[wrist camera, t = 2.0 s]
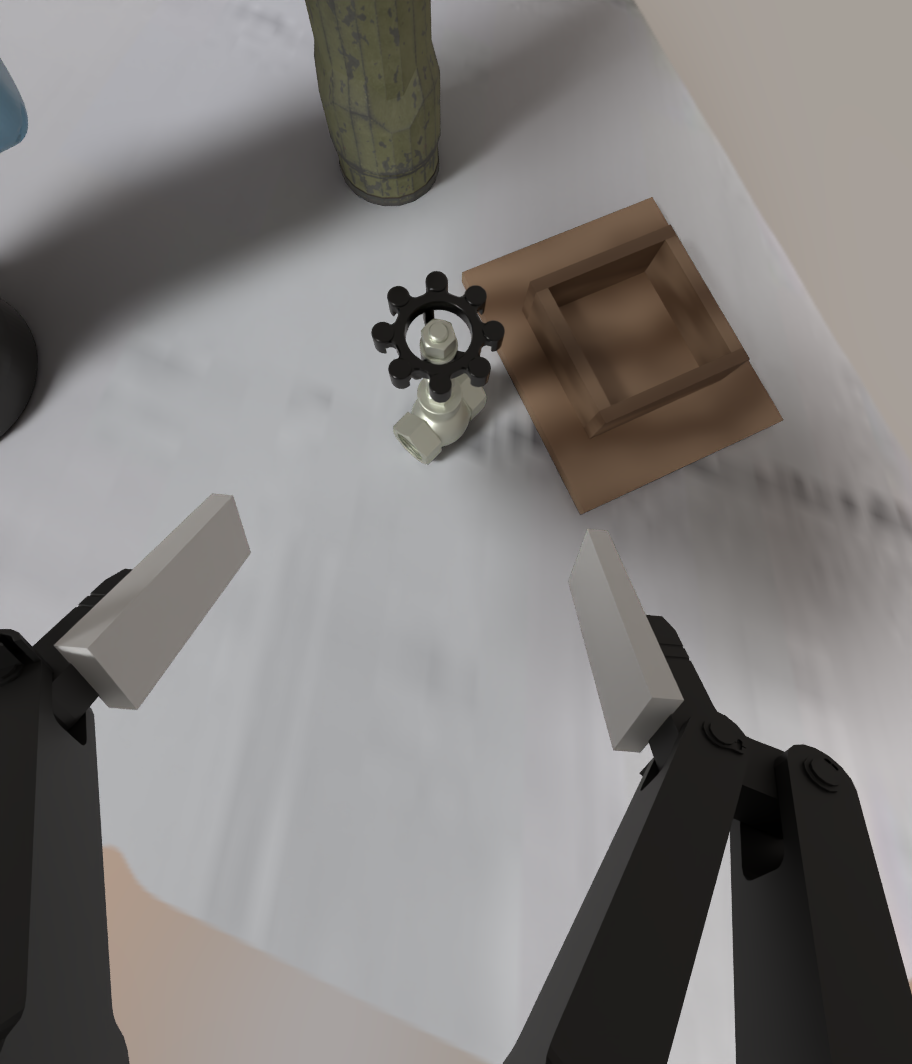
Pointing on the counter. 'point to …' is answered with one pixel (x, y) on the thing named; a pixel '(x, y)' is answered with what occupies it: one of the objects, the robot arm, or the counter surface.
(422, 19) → the thermos
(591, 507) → the dock board
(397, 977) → the counter surface
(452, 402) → the valve
